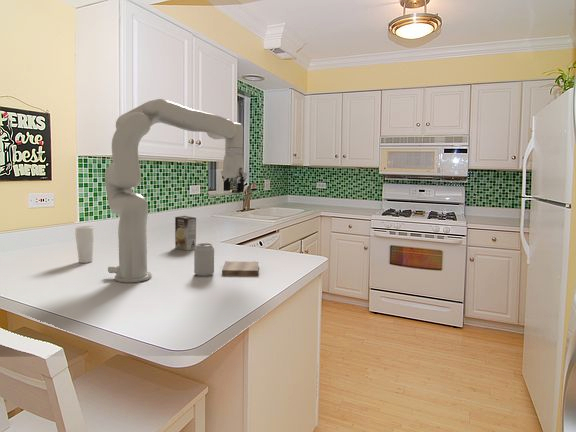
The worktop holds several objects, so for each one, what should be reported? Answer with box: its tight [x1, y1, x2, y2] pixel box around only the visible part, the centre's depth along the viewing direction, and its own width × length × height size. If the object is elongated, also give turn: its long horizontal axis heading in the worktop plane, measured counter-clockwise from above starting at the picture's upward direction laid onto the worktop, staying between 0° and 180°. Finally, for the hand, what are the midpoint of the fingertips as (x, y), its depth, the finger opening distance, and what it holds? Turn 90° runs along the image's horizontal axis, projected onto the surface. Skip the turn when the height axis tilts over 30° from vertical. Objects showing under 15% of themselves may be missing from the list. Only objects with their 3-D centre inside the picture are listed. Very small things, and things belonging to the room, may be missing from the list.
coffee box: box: [174, 215, 197, 251], centre depth 195 cm, size 9×6×16 cm
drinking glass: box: [75, 225, 95, 264], centre depth 162 cm, size 7×7×15 cm
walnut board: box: [221, 260, 259, 277], centre depth 157 cm, size 14×14×2 cm
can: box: [193, 242, 215, 277], centre depth 150 cm, size 8×8×12 cm
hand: (233, 191), depth 170 cm, fingers open, 9 cm apart
